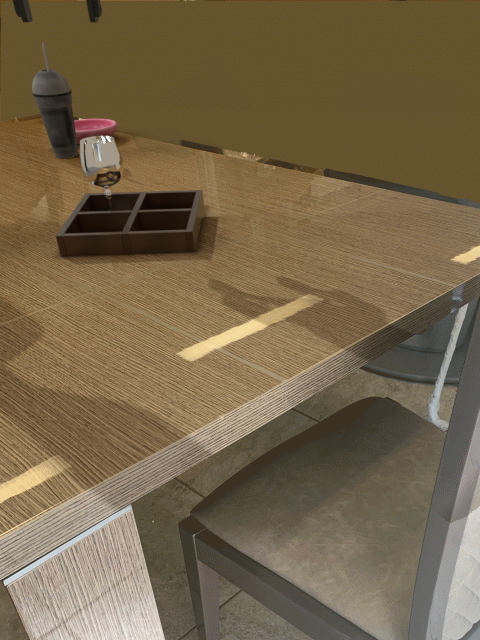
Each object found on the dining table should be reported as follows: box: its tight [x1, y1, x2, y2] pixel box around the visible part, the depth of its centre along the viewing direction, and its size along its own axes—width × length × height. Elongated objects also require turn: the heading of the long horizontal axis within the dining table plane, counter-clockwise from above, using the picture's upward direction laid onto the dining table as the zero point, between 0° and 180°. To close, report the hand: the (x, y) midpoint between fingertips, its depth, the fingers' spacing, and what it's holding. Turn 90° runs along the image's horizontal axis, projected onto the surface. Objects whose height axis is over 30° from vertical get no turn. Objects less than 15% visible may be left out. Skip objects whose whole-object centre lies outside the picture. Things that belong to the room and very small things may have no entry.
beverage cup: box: [31, 42, 79, 159], centre depth 125 cm, size 7×7×20 cm
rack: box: [55, 189, 206, 258], centre depth 93 cm, size 18×18×4 cm
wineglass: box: [79, 136, 125, 211], centre depth 93 cm, size 6×6×12 cm
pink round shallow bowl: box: [74, 118, 118, 145], centre depth 141 cm, size 12×12×3 cm
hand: (61, 21), depth 83 cm, fingers open, 8 cm apart
